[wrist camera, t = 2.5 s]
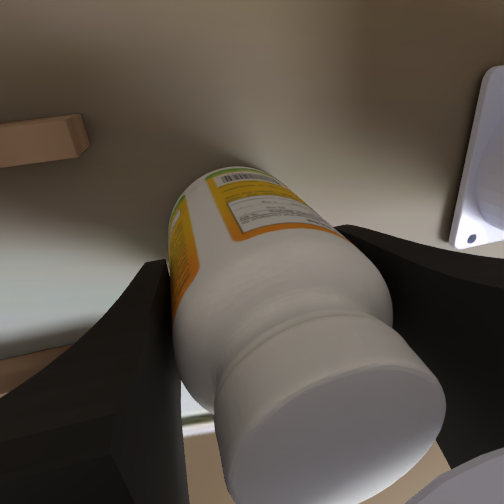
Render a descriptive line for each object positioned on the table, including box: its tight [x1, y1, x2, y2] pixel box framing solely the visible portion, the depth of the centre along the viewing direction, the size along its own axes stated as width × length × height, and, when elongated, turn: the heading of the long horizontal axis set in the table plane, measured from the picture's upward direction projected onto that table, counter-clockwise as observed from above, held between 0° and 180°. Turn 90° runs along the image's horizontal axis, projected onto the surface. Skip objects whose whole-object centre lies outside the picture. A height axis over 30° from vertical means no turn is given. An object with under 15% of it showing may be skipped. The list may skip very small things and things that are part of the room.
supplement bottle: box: [168, 166, 446, 504], centre depth 10 cm, size 5×5×10 cm
